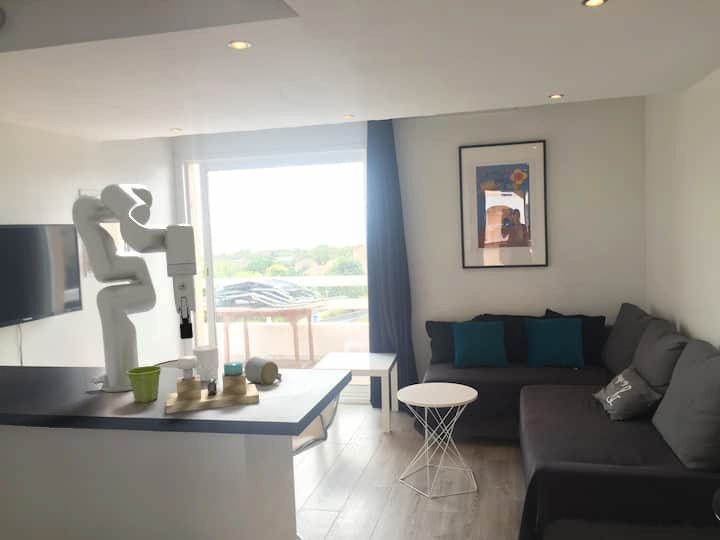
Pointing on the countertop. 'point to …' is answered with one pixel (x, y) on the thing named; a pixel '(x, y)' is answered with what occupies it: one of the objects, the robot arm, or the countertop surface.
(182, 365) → the ivory knob
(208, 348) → the white cup
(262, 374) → the ceramic mug
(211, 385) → the grey metal peg
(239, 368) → the teal knob
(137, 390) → the plant pot
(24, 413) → the countertop surface
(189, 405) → the mount
